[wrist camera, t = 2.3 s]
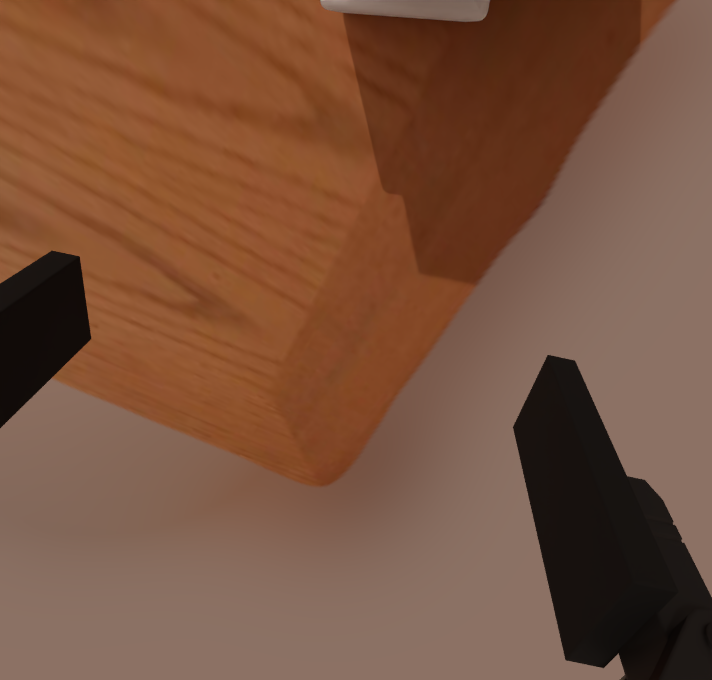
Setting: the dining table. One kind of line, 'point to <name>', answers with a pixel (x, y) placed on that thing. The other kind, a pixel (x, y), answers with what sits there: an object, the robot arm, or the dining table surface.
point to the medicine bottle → (414, 8)
